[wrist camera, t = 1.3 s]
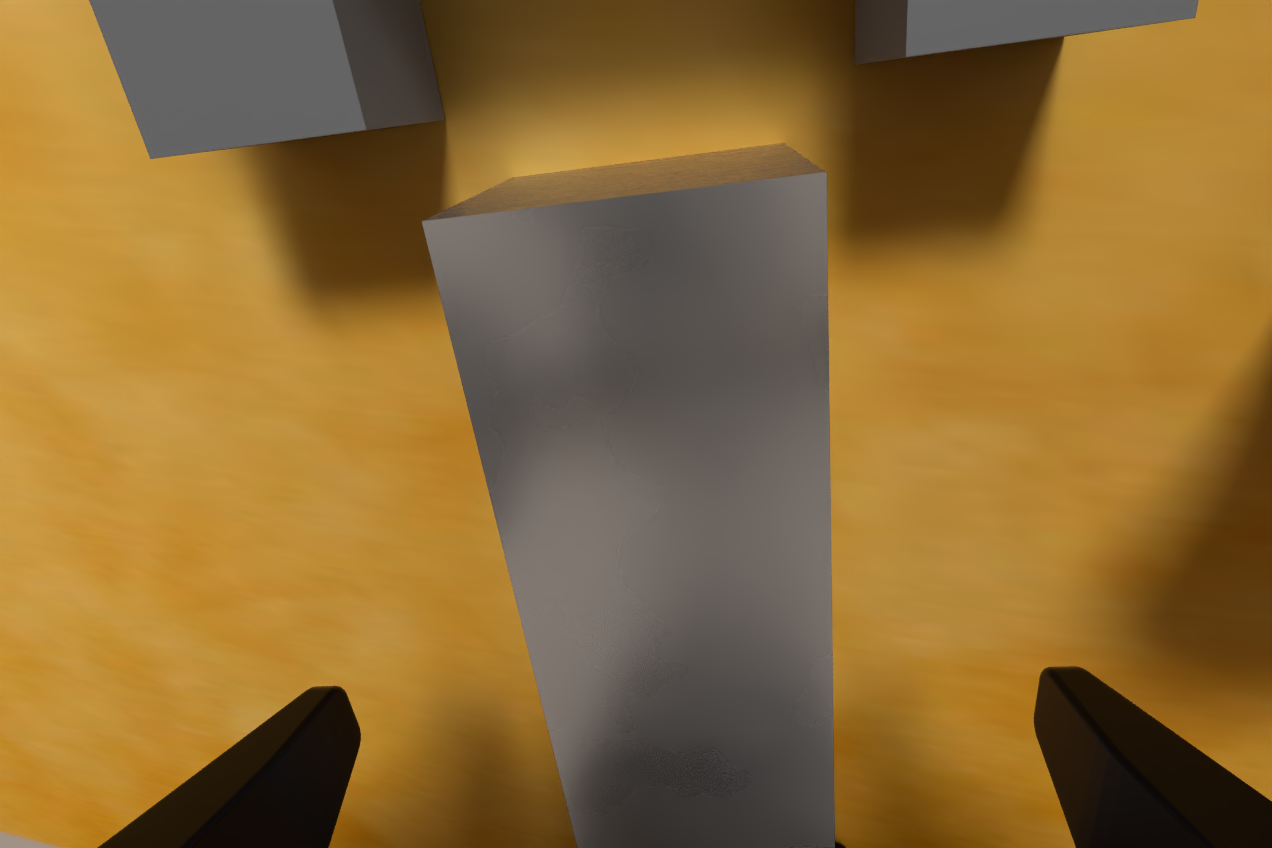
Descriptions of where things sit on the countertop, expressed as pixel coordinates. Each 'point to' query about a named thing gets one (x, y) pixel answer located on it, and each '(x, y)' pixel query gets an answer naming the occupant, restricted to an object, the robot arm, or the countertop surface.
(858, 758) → the countertop surface
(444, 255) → the long gray post
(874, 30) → the grey u-shaped block
